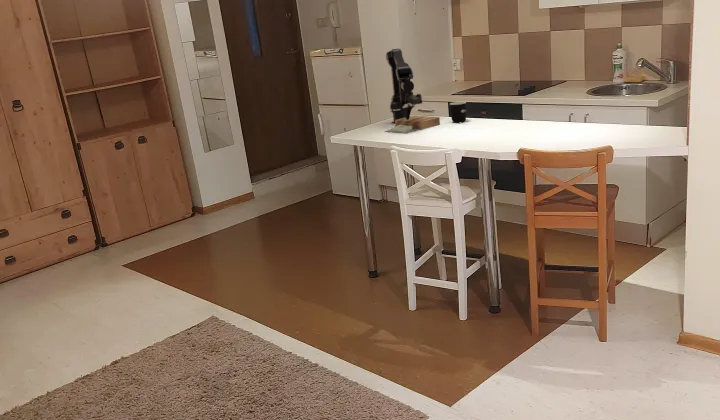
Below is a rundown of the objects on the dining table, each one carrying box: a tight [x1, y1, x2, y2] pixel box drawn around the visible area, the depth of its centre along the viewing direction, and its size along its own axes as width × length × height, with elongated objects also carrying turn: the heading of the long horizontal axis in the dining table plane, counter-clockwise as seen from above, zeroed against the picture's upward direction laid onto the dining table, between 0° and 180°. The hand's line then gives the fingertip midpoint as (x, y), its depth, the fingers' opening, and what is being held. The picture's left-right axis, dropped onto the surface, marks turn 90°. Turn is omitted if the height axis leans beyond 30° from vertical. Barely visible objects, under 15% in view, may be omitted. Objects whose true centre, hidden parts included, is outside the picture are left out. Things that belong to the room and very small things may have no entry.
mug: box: [449, 101, 467, 124], centre depth 356 cm, size 12×9×10 cm
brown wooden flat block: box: [394, 115, 441, 130], centre depth 357 cm, size 20×14×4 cm
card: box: [391, 125, 412, 132], centre depth 348 cm, size 9×6×2 cm, turn 42°
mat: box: [384, 128, 421, 134], centre depth 349 cm, size 16×11×1 cm
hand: (407, 119), depth 351 cm, fingers closed
